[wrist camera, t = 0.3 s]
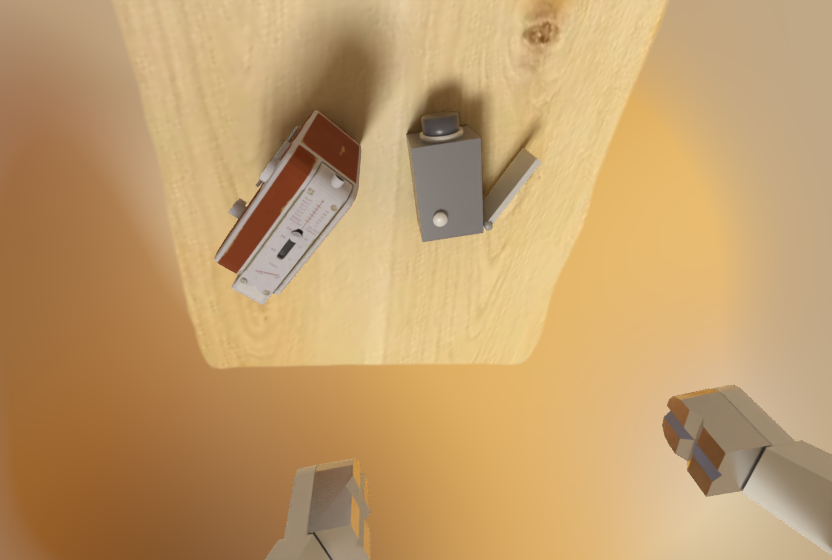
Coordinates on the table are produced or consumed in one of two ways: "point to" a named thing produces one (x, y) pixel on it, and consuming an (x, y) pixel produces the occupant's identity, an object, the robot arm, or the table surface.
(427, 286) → the table surface
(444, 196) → the camera body
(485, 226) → the side door
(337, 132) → the cine camera
